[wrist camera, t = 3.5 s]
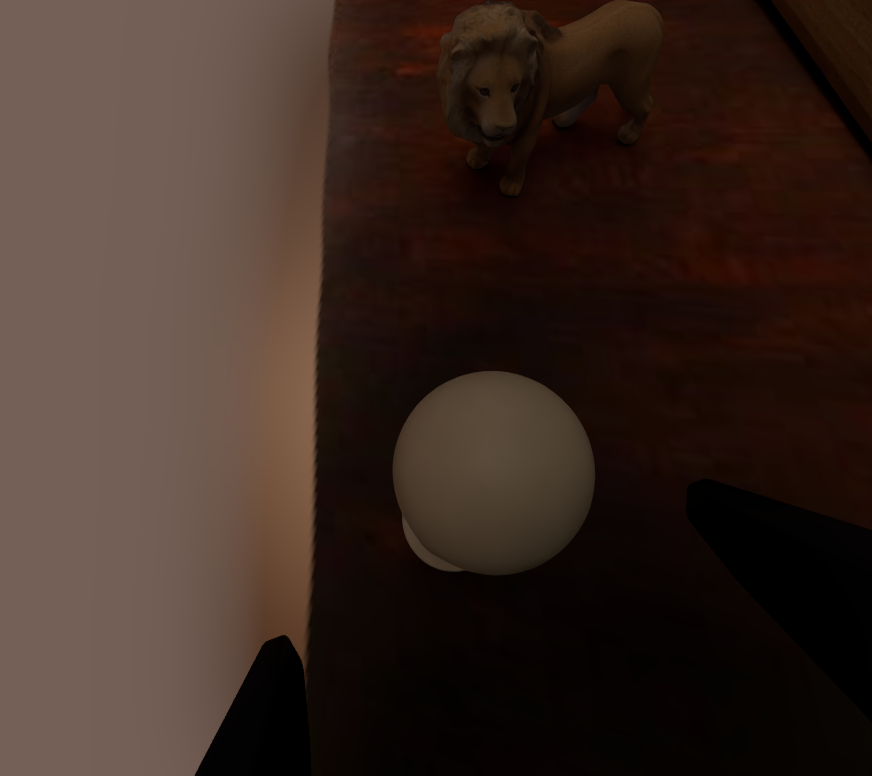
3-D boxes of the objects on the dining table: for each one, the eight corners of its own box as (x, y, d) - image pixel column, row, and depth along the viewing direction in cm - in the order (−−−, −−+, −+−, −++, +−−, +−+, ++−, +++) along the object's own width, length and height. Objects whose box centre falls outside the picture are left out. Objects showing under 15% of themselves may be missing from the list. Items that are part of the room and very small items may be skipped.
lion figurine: (471, 249, 23) (497, 74, 15) (410, 184, 24) (403, -9, 16) (663, 128, 26) (776, -72, 18) (600, 77, 28) (677, -131, 19)
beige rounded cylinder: (493, 578, 18) (666, 649, 5) (394, 561, 18) (318, 586, 5) (504, 478, 19) (661, 335, 6) (413, 462, 19) (387, 292, 6)
